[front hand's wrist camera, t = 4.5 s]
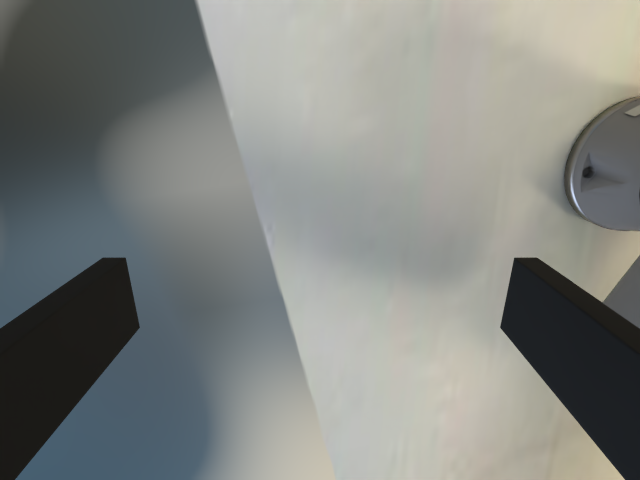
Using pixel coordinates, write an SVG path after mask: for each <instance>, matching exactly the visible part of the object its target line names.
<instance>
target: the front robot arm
mask: <svg viewBox="0 0 640 480" xmlns="http://www.w3.org/2000/svg"><path fill="white" fill-rule="evenodd" d="M564 182H565V190H566V194H567V197H568V200H569V202H570V204H571V206H572V207H573V209H574V210H575V211H576V212H577V213H578V214H579V215H580V216H581V217H583V218H584V219H586V220H587V221H589V222H592V223H594V224H596V225H599V226H601V227H604V228H607V229H613V230H619V231H640V96H639V97H635V98H631V99H628V100H625V101H623V102H620V103H618V104H616V105H614V106H612V107H610V108H609V109H607V110H606V111H604V112H603V113H602V114H600V115H599V116H598V117H597V118H595V119H594V120H593V121H592V122H591V123H590V124H589V125H588V126H587V127H586V128H585V130H584V131H583V132H582V133H581V135H580V136H579V138H578V139H577V141H576V142H575V144H574V146H573V148H572V150H571V152H570V155H569V157H568V160H567V164H566V169H565V181H564ZM139 328H140V327H139V322H138V317H137V312H136V307H135V302H134V297H133V292H132V287H131V282H130V277H129V272H128V267H127V262H126V258H102V259H100V260H99V261H97V262H96V263H95V264H93V265H92V266H90V267H89V268H87V269H86V270H84V271H83V272H82V273H80V274H79V275H77V276H76V277H74V278H73V279H71V280H70V281H68V282H67V283H66V284H64V285H63V286H61V287H60V288H58V289H57V290H55V291H54V292H53V293H51V294H50V295H48V296H47V297H45V298H44V299H42V300H41V301H39V302H38V303H37V304H35V305H34V306H32V307H31V308H29V309H28V310H26V311H25V312H24V313H22V314H21V315H19V316H18V317H16V318H15V319H13V320H12V321H11V322H9V323H8V324H6V325H5V326H3V327H2V328H0V480H15V479H16V478H17V476H18V475H19V474H20V473H21V472H22V470H23V469H24V468H25V467H26V465H27V464H28V463H29V462H30V461H31V459H32V458H33V457H34V456H35V455H36V453H37V452H38V451H39V450H40V448H41V447H42V446H43V445H44V444H45V442H46V441H47V440H48V439H49V437H50V436H51V435H52V434H53V433H54V431H55V430H56V429H57V428H58V426H59V425H60V424H61V423H62V422H63V420H64V419H65V418H66V417H67V416H68V414H69V413H70V412H71V411H72V409H73V408H74V407H75V406H76V404H77V403H78V402H79V401H80V400H81V398H82V397H83V396H84V395H85V394H86V392H87V391H88V390H89V389H90V388H91V386H92V385H93V384H94V383H95V381H96V380H97V379H98V378H99V376H100V375H101V374H102V373H103V372H104V370H105V369H106V368H107V367H108V366H109V364H110V363H111V362H112V361H113V359H114V358H115V357H116V356H117V355H118V353H119V352H120V351H121V350H122V349H123V347H124V346H125V345H126V344H127V342H128V341H129V340H130V339H131V338H132V336H133V335H134V334H135V333H136V331H137V330H138V329H139ZM500 328H501V329H502V330H503V331H504V333H505V334H506V335H507V336H508V338H509V339H510V340H511V341H512V342H513V344H514V345H515V346H516V347H517V349H518V350H519V351H520V352H521V353H522V355H523V356H524V357H525V358H526V359H527V361H528V362H529V363H530V364H531V366H532V367H533V368H534V369H535V370H536V372H537V373H538V374H539V375H540V377H541V378H542V379H543V380H544V381H545V383H546V384H547V385H548V386H549V388H550V389H551V390H552V391H553V392H554V394H555V395H556V396H557V397H558V398H559V400H560V401H561V402H562V403H563V405H564V406H565V407H566V408H567V409H568V411H569V412H570V413H571V414H572V416H573V417H574V418H575V419H576V420H577V422H578V423H579V424H580V425H581V426H582V428H583V429H584V430H585V431H586V433H587V434H588V435H589V436H590V437H591V439H592V440H593V441H594V442H595V444H596V445H597V446H598V447H599V448H600V450H601V451H602V452H603V453H604V455H605V456H606V457H607V458H608V459H609V461H610V462H611V463H612V464H613V465H614V467H615V468H616V469H617V470H618V472H619V473H620V474H621V475H622V476H623V478H624V479H625V480H640V255H639V257H638V258H637V259H636V261H635V262H634V263H633V265H632V266H631V267H630V268H629V270H628V271H627V272H626V273H625V275H624V276H623V277H622V279H621V280H620V281H619V282H618V284H617V285H616V286H615V287H614V289H613V290H612V291H611V293H610V294H609V295H608V296H607V298H606V299H605V300H604V301H603V303H602V302H601V301H599V300H598V299H596V298H595V297H593V296H592V295H590V294H589V293H587V292H586V291H585V290H583V289H582V288H580V287H579V286H577V285H576V284H574V283H573V282H572V281H570V280H569V279H567V278H566V277H564V276H563V275H561V274H560V273H558V272H557V271H556V270H554V269H553V268H551V267H550V266H548V265H547V264H545V263H544V262H543V261H541V260H540V259H538V258H514V262H513V267H512V272H511V277H510V282H509V287H508V292H507V297H506V302H505V307H504V312H503V317H502V322H501V326H500Z"/></svg>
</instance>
